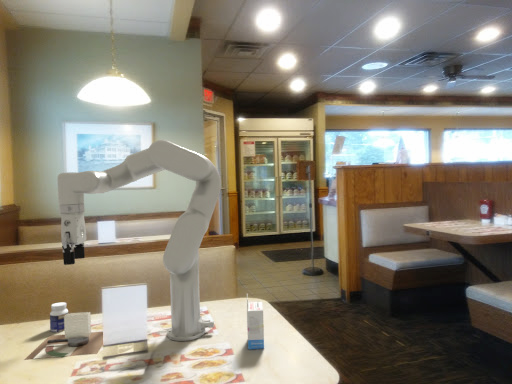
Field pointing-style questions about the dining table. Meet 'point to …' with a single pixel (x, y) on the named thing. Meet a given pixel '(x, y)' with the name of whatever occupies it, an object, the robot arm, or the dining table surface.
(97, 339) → the brown flat square slab
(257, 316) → the ink box
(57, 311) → the pill bottle
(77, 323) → the white piece
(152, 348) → the dining table surface
